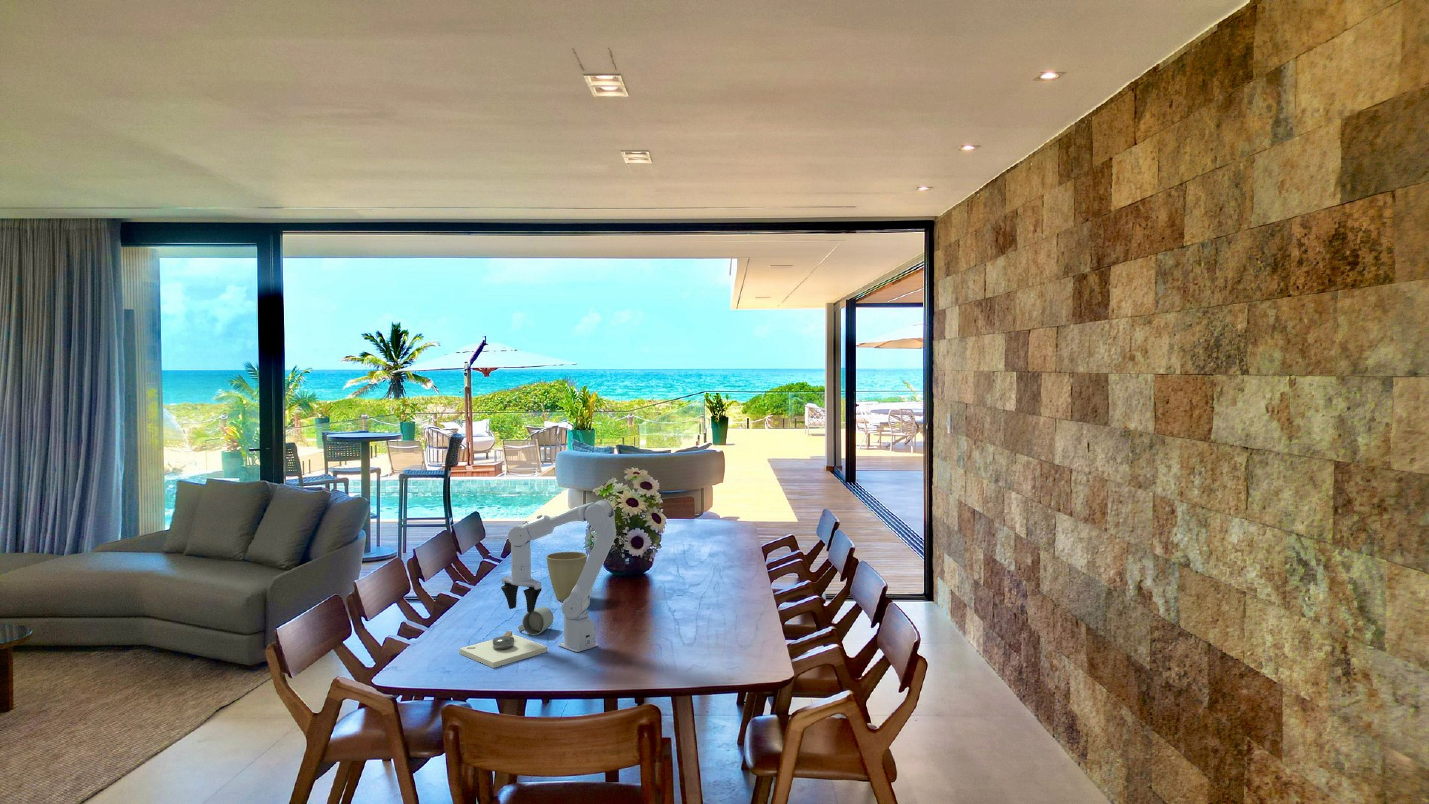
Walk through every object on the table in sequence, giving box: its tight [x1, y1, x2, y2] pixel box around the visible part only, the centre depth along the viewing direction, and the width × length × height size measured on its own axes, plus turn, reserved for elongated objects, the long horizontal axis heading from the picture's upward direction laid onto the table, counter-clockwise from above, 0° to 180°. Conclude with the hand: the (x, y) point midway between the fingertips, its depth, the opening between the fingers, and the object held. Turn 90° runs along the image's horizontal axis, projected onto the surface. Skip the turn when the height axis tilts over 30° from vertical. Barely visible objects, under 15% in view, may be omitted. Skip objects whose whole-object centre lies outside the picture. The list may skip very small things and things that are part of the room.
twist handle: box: [492, 630, 514, 650], centre depth 229 cm, size 11×6×2 cm, turn 3°
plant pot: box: [545, 551, 588, 602], centre depth 286 cm, size 15×15×16 cm
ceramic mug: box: [517, 606, 555, 636], centre depth 247 cm, size 11×8×8 cm
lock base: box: [458, 633, 548, 669], centre depth 226 cm, size 18×18×2 cm
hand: (521, 610), depth 234 cm, fingers open, 7 cm apart
